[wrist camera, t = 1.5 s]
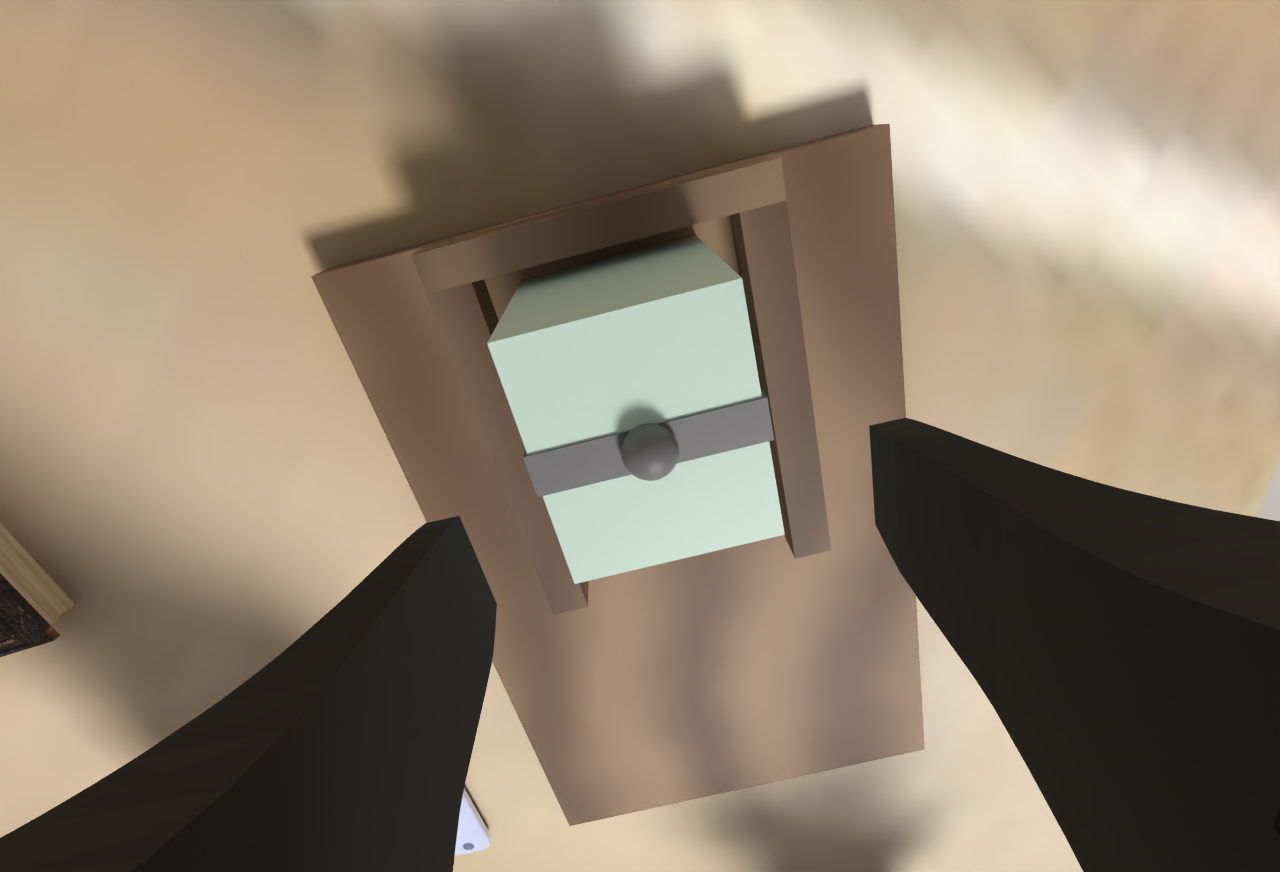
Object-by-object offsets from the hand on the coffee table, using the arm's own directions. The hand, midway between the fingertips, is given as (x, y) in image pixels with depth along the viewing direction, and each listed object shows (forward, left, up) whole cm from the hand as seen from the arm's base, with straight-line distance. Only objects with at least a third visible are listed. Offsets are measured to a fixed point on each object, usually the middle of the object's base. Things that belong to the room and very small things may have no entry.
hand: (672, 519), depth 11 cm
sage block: (0, 0, -9) cm, 9 cm away
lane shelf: (0, -8, -10) cm, 12 cm away
